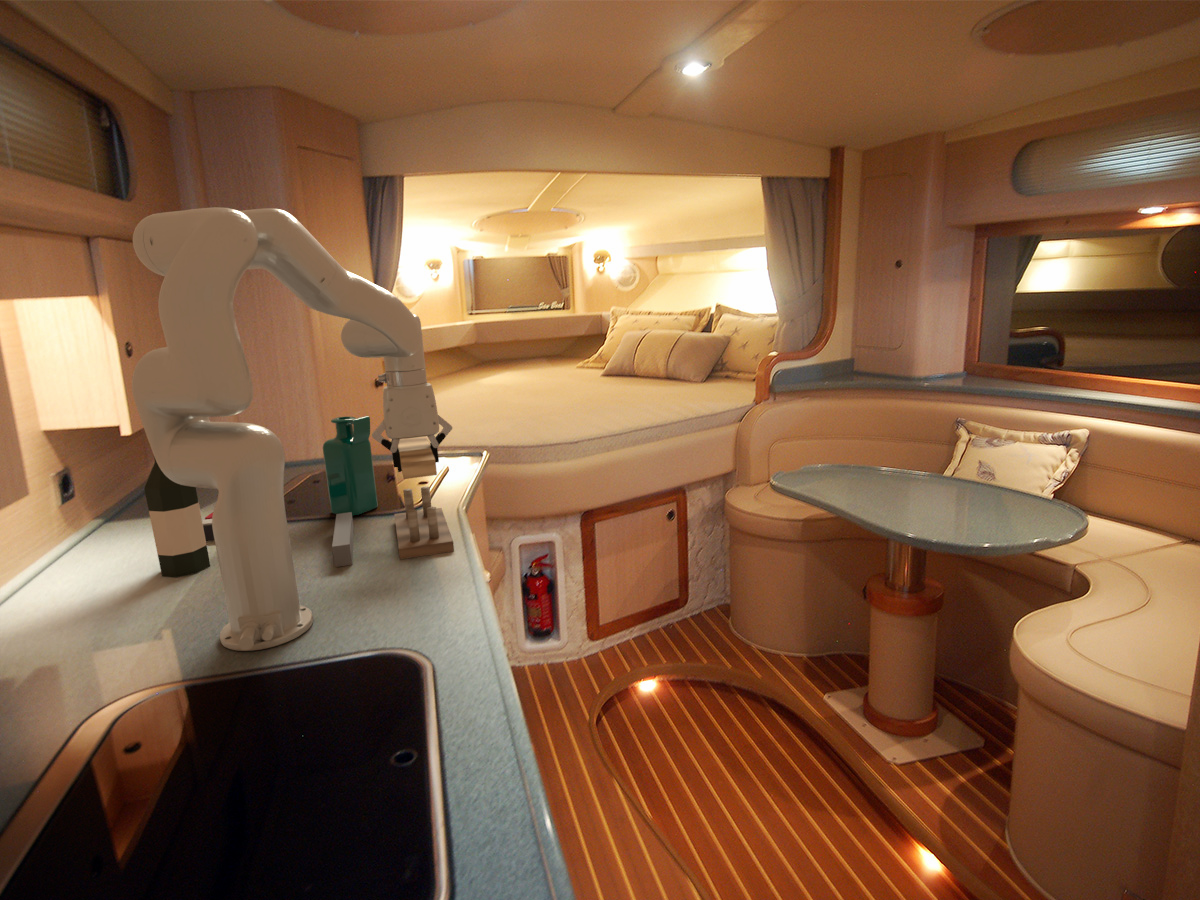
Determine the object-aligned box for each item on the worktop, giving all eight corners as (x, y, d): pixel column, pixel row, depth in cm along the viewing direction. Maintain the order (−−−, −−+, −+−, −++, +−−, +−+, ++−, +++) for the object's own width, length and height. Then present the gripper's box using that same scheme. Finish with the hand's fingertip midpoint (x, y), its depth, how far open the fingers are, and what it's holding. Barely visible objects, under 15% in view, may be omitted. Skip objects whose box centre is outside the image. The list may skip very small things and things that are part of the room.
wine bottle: (151, 579, 123) (117, 415, 116) (172, 561, 131) (141, 407, 124) (201, 575, 124) (170, 412, 117) (218, 557, 132) (190, 404, 125)
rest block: (352, 564, 126) (349, 544, 125) (334, 567, 125) (332, 546, 124) (353, 529, 144) (351, 512, 144) (338, 532, 144) (336, 514, 143)
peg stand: (454, 550, 131) (450, 511, 129) (400, 559, 128) (395, 518, 126) (442, 516, 151) (438, 481, 149) (395, 522, 148) (391, 487, 146)
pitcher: (327, 513, 156) (314, 419, 151) (354, 502, 163) (343, 412, 158) (359, 518, 152) (347, 421, 147) (386, 507, 159) (375, 414, 154)
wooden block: (436, 474, 127) (435, 459, 126) (403, 479, 125) (401, 463, 124) (426, 448, 147) (425, 435, 146) (398, 452, 145) (396, 438, 145)
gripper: (359, 385, 126) (371, 478, 130) (454, 377, 131) (462, 467, 135) (359, 380, 133) (371, 469, 137) (449, 372, 138) (458, 458, 142)
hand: (416, 467), depth 136 cm, fingers closed on wooden block, 6 cm apart
